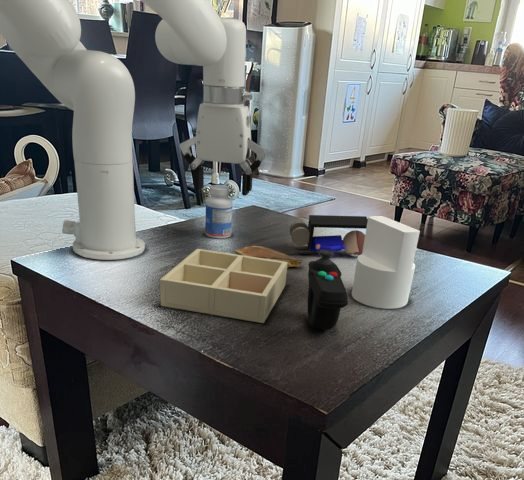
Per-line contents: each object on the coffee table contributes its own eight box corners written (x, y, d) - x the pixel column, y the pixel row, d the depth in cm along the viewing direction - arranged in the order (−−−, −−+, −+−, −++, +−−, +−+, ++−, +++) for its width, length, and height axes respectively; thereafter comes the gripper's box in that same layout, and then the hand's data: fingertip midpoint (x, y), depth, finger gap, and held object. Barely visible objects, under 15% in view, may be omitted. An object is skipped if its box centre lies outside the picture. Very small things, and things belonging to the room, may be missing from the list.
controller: (329, 311, 80) (338, 246, 75) (343, 350, 69) (355, 277, 64) (300, 309, 80) (308, 244, 75) (310, 348, 69) (320, 275, 64)
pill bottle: (204, 230, 112) (205, 183, 108) (230, 231, 113) (232, 184, 108) (205, 238, 108) (206, 189, 103) (231, 239, 108) (234, 190, 104)
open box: (160, 305, 77) (160, 279, 75) (196, 271, 90) (197, 248, 88) (263, 323, 74) (266, 296, 73) (285, 285, 88) (287, 261, 86)
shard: (302, 268, 96) (303, 259, 95) (272, 277, 91) (273, 267, 90) (259, 252, 102) (260, 243, 101) (230, 259, 97) (230, 250, 96)
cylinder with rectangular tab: (419, 304, 85) (436, 230, 79) (375, 312, 81) (389, 234, 75) (383, 284, 92) (396, 214, 86) (340, 290, 88) (351, 217, 82)
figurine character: (291, 263, 102) (370, 260, 102) (290, 224, 98) (372, 221, 98) (289, 252, 108) (364, 249, 108) (289, 215, 104) (365, 212, 104)
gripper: (273, 99, 100) (268, 192, 108) (186, 92, 103) (188, 183, 111) (264, 101, 93) (259, 200, 102) (171, 94, 96) (174, 191, 105)
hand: (222, 191), depth 106 cm, fingers open, 9 cm apart
